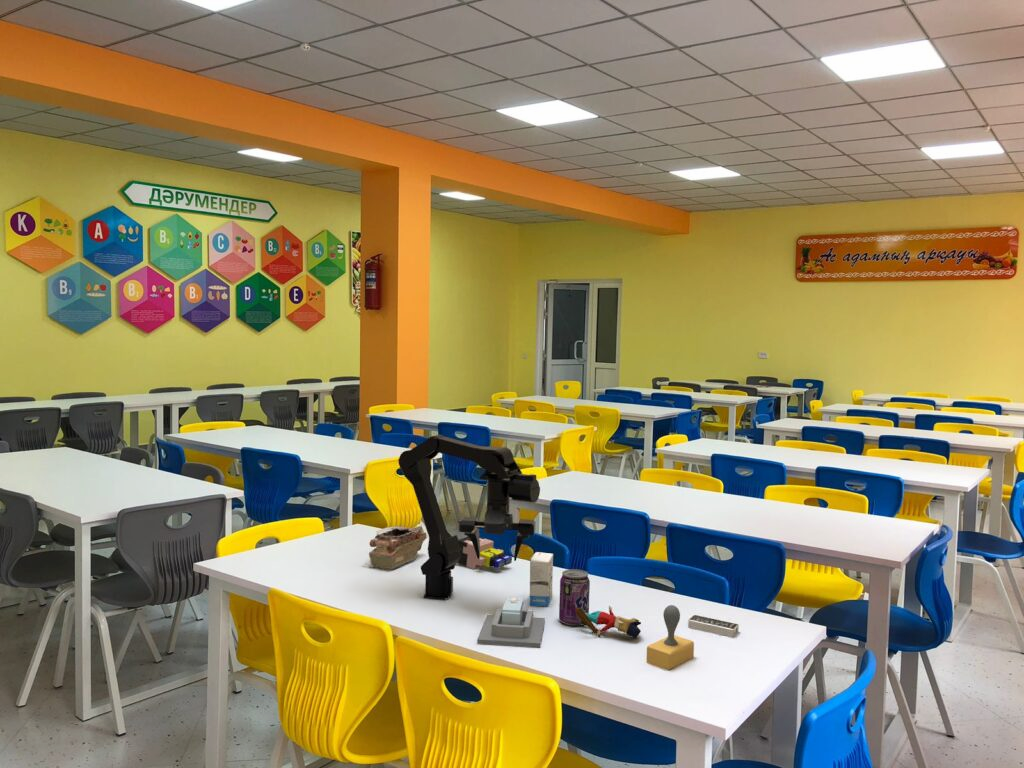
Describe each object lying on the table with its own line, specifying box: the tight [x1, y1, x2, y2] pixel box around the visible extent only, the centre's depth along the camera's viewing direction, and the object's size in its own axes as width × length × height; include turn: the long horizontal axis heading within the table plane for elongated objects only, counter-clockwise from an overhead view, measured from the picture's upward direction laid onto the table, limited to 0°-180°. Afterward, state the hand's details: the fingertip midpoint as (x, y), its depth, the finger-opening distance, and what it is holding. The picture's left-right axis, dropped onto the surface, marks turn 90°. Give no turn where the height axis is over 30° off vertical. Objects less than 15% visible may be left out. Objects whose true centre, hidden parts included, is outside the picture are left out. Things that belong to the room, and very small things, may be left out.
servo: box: [501, 597, 524, 626], centre depth 186 cm, size 4×8×6 cm, turn 174°
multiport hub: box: [687, 614, 740, 639], centre depth 190 cm, size 4×11×2 cm, turn 58°
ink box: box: [529, 551, 554, 607], centre depth 208 cm, size 9×5×12 cm, turn 168°
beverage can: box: [558, 568, 591, 627], centre depth 193 cm, size 7×7×12 cm
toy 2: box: [575, 605, 642, 639], centre depth 185 cm, size 9×6×15 cm
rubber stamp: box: [645, 604, 695, 671], centre depth 172 cm, size 10×6×12 cm, turn 136°
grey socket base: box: [476, 608, 546, 649], centre depth 186 cm, size 14×16×4 cm
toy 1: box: [457, 536, 513, 570], centre depth 237 cm, size 12×7×15 cm
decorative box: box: [368, 526, 428, 570], centre depth 241 cm, size 13×20×10 cm, turn 147°
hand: (496, 559), depth 203 cm, fingers open, 9 cm apart
